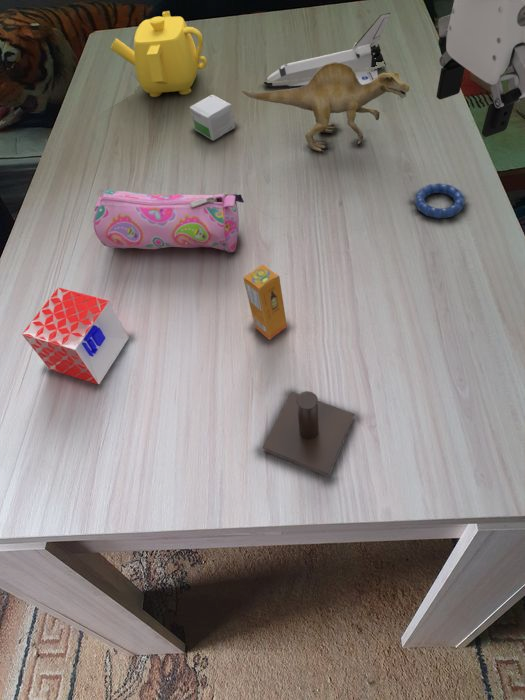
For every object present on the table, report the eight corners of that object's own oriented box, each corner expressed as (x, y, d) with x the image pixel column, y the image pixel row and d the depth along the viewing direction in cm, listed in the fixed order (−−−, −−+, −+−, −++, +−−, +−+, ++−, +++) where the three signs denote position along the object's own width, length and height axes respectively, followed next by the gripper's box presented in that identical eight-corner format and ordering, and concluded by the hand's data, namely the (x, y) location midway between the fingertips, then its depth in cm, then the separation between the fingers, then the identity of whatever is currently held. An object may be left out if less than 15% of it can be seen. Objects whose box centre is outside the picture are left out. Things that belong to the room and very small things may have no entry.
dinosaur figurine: (402, 146, 90) (412, 68, 79) (250, 157, 93) (240, 83, 82) (397, 121, 95) (406, 44, 84) (252, 132, 97) (242, 59, 86)
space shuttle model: (260, 68, 111) (254, 16, 103) (376, 49, 110) (380, -5, 102) (268, 106, 102) (263, 53, 94) (395, 86, 101) (401, 31, 93)
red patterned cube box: (81, 324, 74) (58, 287, 68) (129, 337, 72) (109, 300, 65) (49, 370, 70) (21, 334, 64) (98, 385, 68) (74, 350, 61)
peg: (354, 417, 61) (357, 382, 55) (328, 477, 58) (328, 446, 51) (291, 395, 64) (287, 358, 58) (263, 451, 60) (255, 418, 54)
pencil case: (248, 223, 83) (240, 175, 76) (238, 265, 78) (228, 217, 71) (121, 221, 87) (101, 174, 79) (103, 260, 81) (81, 215, 74)
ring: (468, 194, 82) (470, 187, 80) (456, 224, 78) (458, 217, 77) (422, 185, 84) (423, 178, 83) (408, 213, 80) (410, 206, 79)
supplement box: (271, 313, 72) (263, 261, 64) (287, 327, 70) (282, 276, 62) (252, 327, 71) (242, 275, 63) (268, 341, 69) (260, 291, 61)
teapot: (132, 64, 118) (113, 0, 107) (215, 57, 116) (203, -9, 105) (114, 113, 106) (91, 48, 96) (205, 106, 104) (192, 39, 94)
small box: (194, 130, 100) (188, 106, 96) (217, 117, 101) (212, 92, 97) (212, 142, 97) (207, 117, 93) (236, 128, 99) (232, 103, 95)
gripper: (601, -27, 49) (540, 139, 63) (486, -79, 58) (455, 75, 72) (533, -6, 47) (486, 158, 61) (427, -62, 57) (407, 91, 71)
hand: (469, 113), depth 67 cm, fingers open, 9 cm apart
